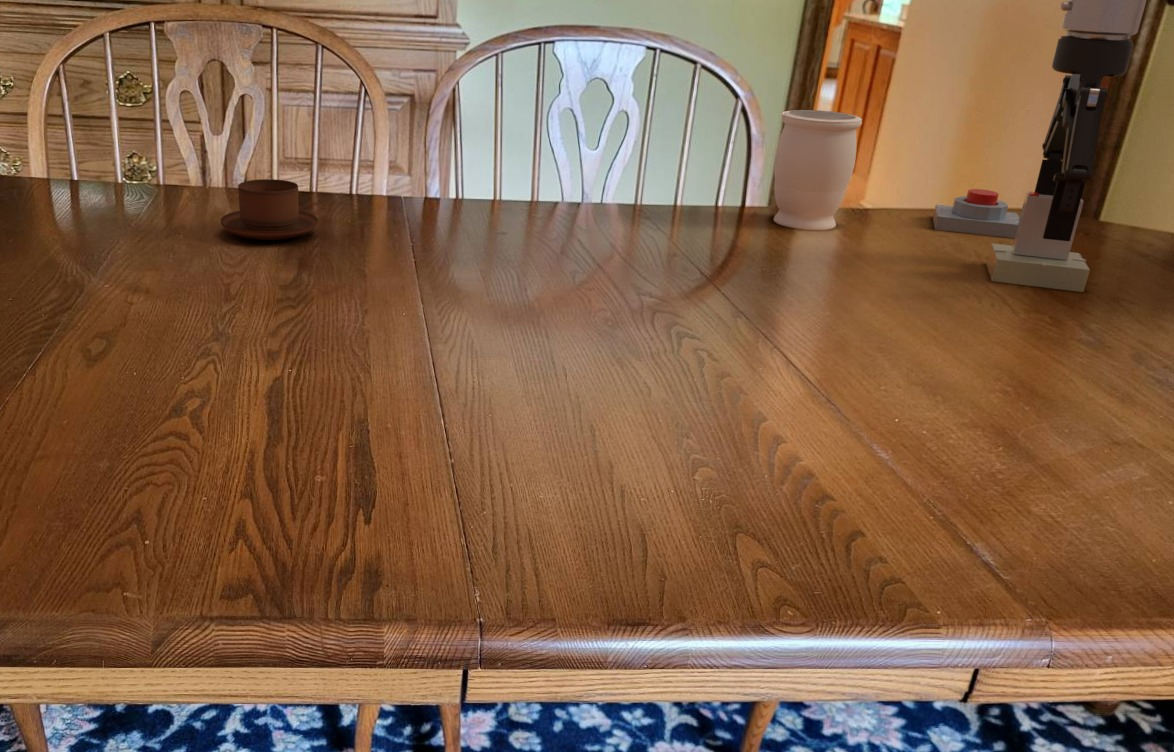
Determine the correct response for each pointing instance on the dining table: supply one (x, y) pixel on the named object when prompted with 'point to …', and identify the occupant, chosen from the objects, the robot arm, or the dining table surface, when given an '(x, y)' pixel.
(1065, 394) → the dining table surface
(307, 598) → the dining table surface
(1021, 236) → the grey flat slab
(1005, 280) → the base
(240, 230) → the cup and saucer
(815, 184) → the jar
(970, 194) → the button
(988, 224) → the button box
